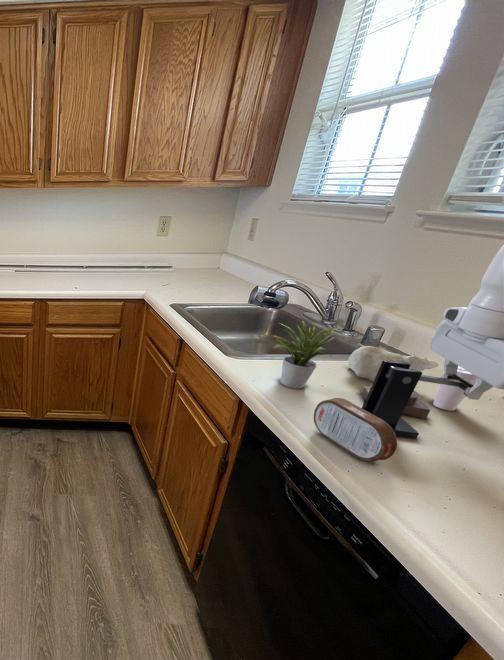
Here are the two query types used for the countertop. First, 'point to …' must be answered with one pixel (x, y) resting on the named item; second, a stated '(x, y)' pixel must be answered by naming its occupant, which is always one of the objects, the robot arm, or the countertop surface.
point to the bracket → (393, 396)
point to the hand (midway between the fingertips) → (458, 389)
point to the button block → (408, 404)
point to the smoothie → (453, 392)
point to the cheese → (371, 359)
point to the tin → (355, 429)
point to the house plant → (301, 356)
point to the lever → (440, 379)
